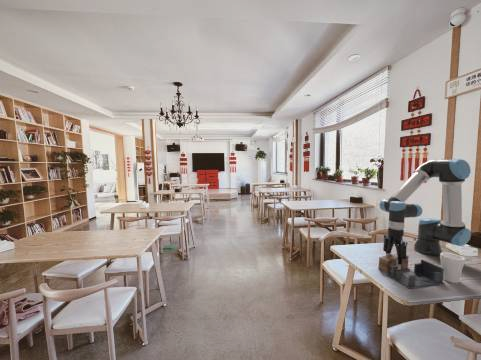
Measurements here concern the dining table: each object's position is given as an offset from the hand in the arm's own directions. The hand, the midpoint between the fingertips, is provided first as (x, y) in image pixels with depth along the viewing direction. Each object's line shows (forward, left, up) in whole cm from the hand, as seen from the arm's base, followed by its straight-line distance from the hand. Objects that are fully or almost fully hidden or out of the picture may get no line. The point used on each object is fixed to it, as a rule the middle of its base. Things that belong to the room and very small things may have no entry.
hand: (393, 266), depth 131 cm
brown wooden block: (0, 0, -1) cm, 1 cm away
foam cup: (-19, +17, -1) cm, 25 cm away
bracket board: (0, +13, -1) cm, 13 cm away
